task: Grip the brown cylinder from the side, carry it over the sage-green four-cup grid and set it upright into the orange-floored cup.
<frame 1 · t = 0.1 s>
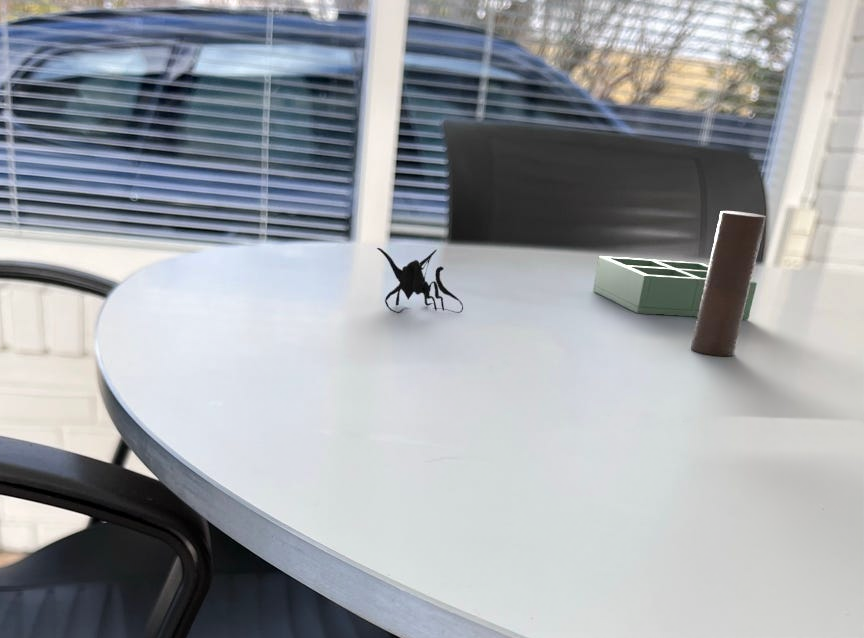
grid: (667, 304, 111), on the table
creature: (419, 311, 96), on the table
brown cylinder: (712, 351, 90), on the table
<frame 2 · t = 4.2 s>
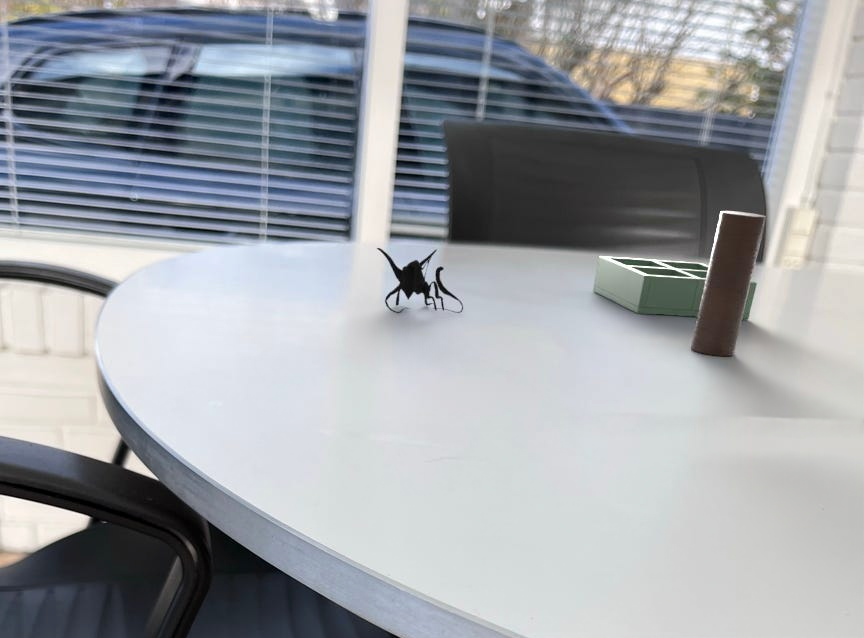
nothing on the table moved.
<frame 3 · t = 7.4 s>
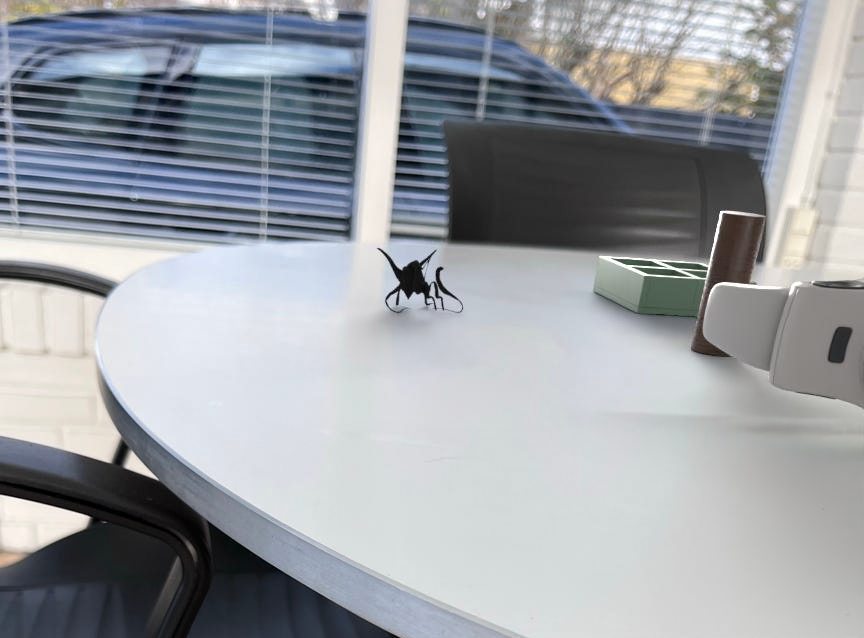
hand: (795, 302, 79), 6 cm above the table, tool horizontal, fingers open, 8 cm apart
nothing on the table moved.
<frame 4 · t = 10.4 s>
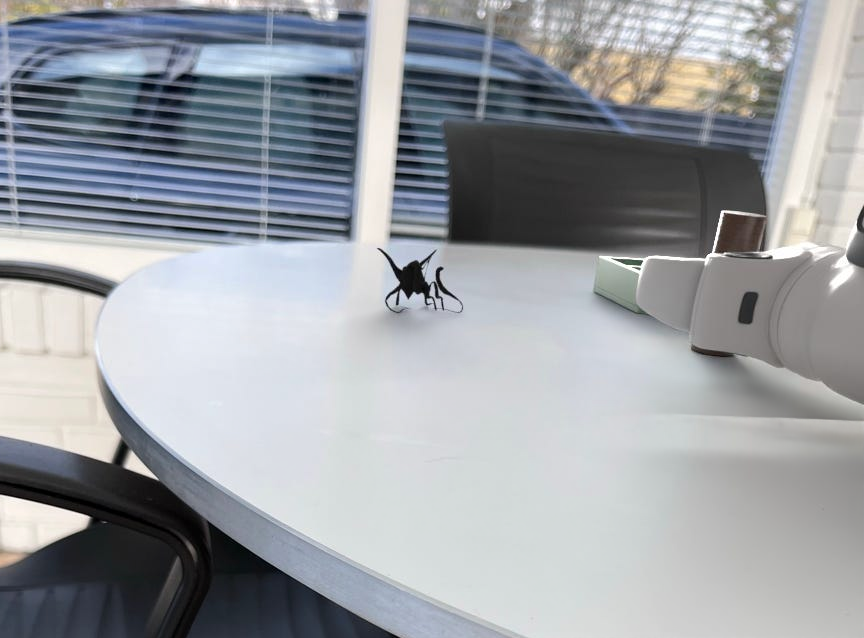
hand: (723, 276, 88), 6 cm above the table, tool horizontal, fingers closed on brown cylinder, 3 cm apart
brown cylinder: (712, 351, 90), on the table, touching gripper
everything else where it was.
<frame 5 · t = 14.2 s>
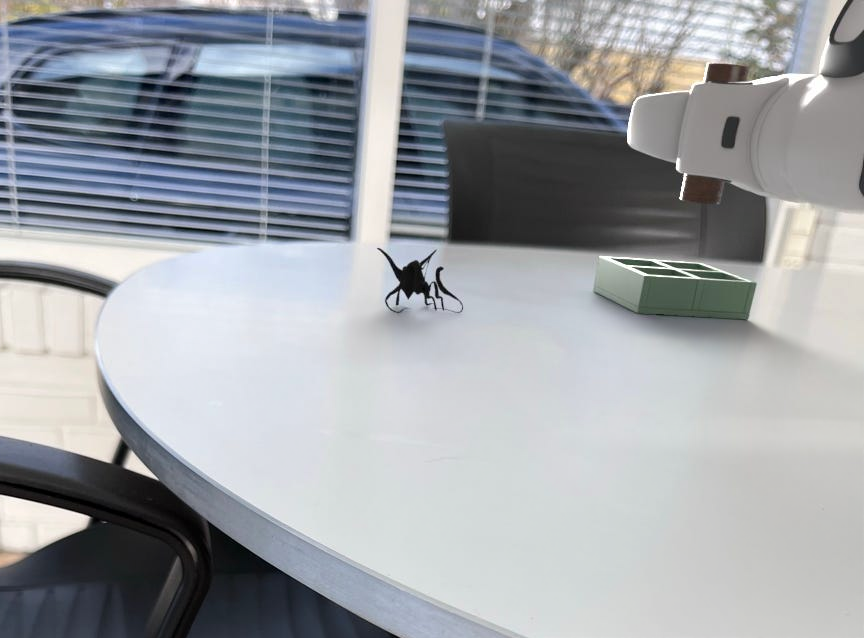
hand: (709, 128, 94), 17 cm above the table, tool horizontal, fingers closed on brown cylinder, 3 cm apart
brown cylinder: (699, 201, 96), point 11 cm above the table, touching gripper
everything else where it was.
when the fingers open (7 cm above the table, at t = 18.3 s): brown cylinder stays where it is, resting on grid.
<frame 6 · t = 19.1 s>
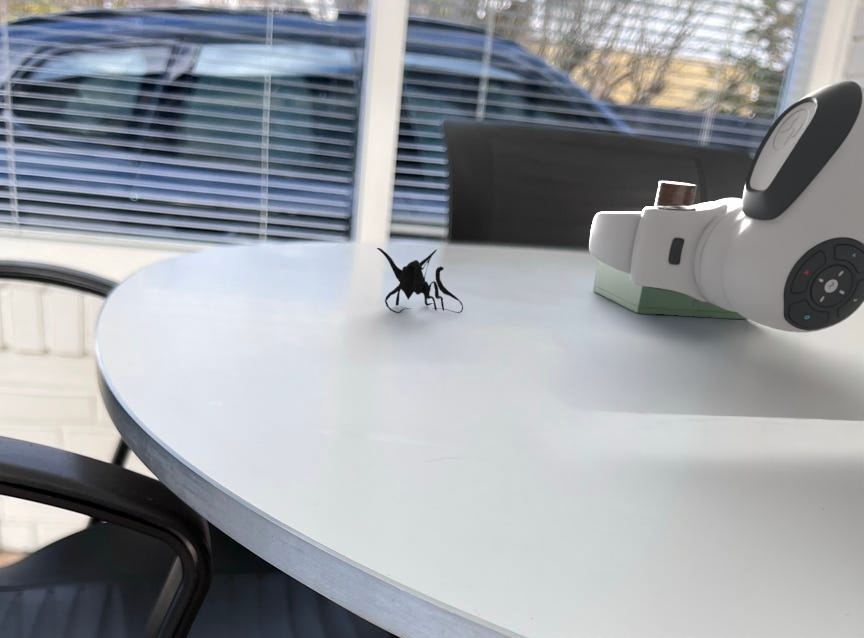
hand: (665, 232, 105), 7 cm above the table, tool horizontal, fingers open, 8 cm apart
brown cylinder: (654, 300, 107), point 1 cm above the table, touching grid
everything else where it was.
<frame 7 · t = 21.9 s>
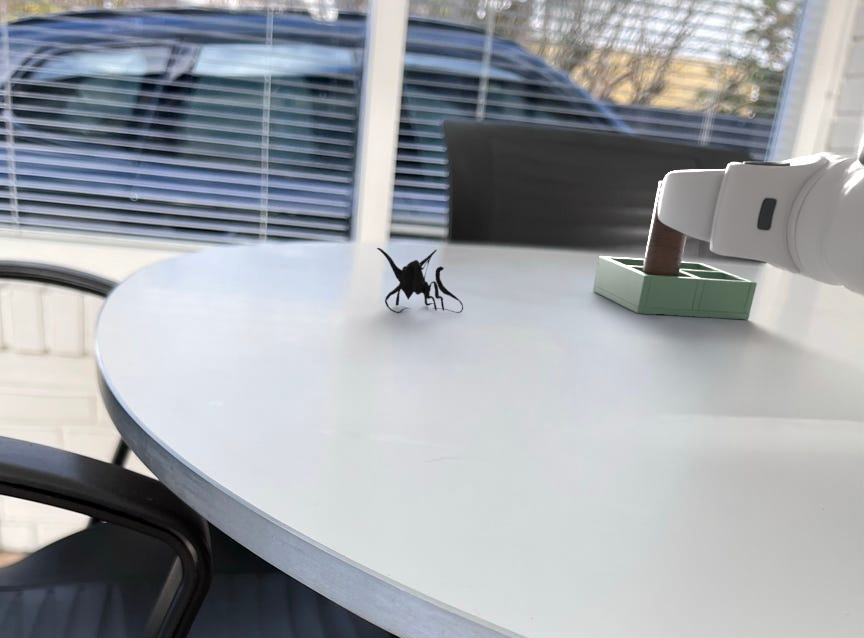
hand: (740, 197, 92), 12 cm above the table, tool horizontal, fingers open, 8 cm apart
nothing on the table moved.
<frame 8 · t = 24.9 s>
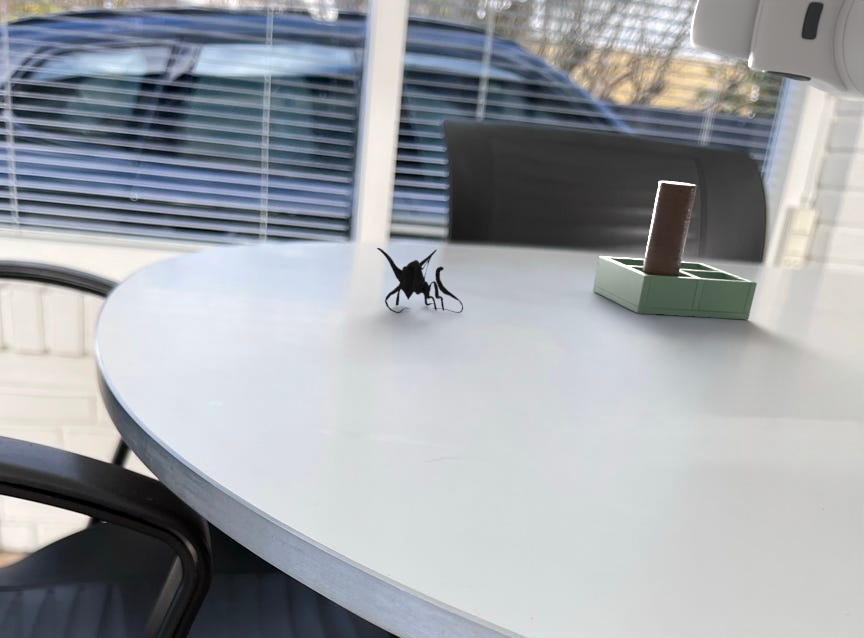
hand: (776, 35, 86), 24 cm above the table, tool horizontal, fingers open, 8 cm apart
nothing on the table moved.
at the end: brown cylinder 0.2 cm from the target spot in the grid, point 0.8 cm above the grid's base; brown cylinder tilted 0°; the gripper is holding nothing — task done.
